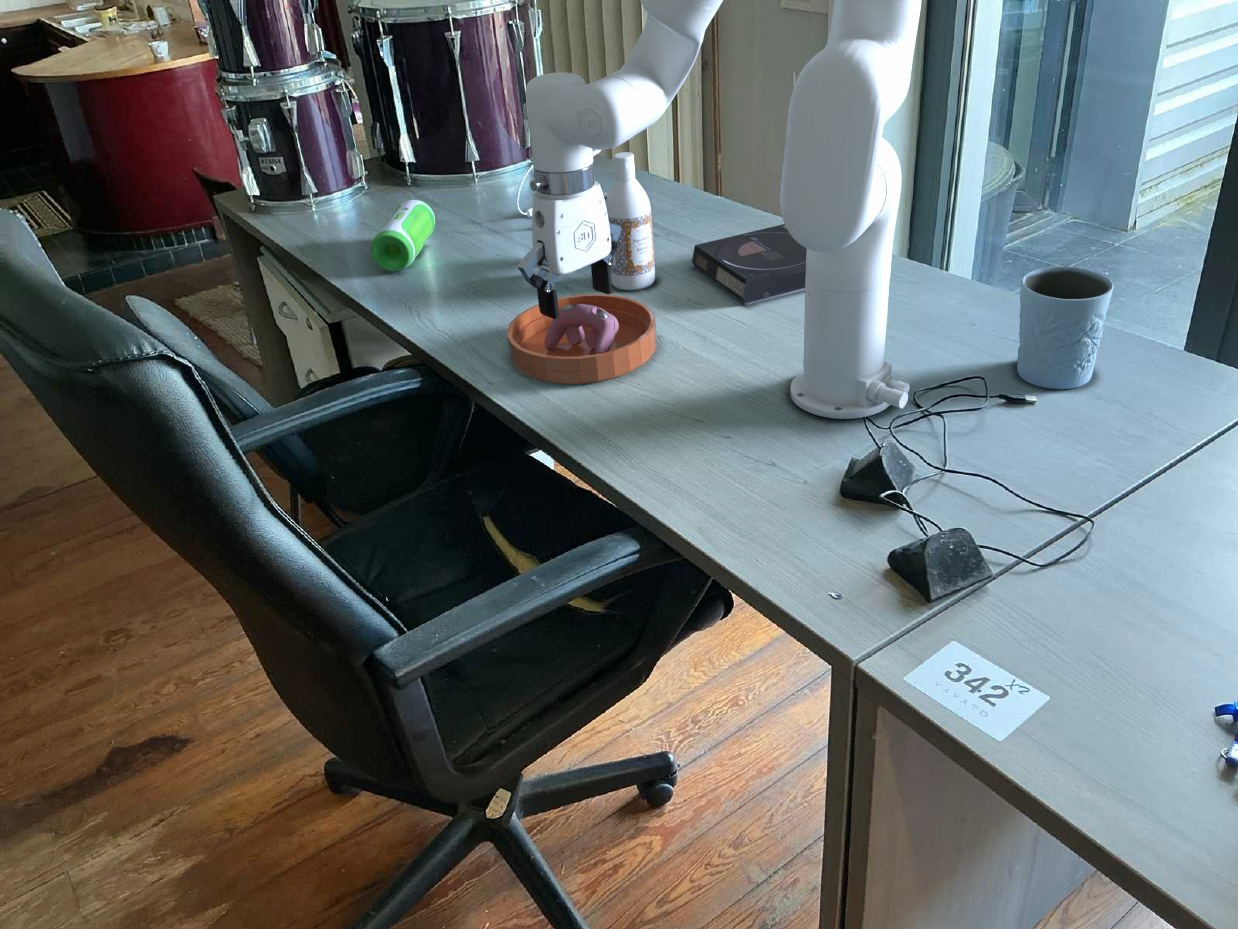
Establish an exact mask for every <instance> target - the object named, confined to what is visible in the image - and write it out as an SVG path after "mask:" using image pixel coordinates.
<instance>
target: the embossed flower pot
mask: <svg viewBox="0 0 1238 929" xmlns="http://www.w3.org/2000/svg"><path fill="white" fill-rule="evenodd" d="M1113 291H1114V283H1113V281H1112V280H1111V279H1110V278H1109V277H1107V276H1105V275H1103V274H1102V273H1100V272H1096V271H1094V270H1091V269H1086V268H1081V267H1072V266H1050V267H1043V268H1038V269H1034V270H1031V271H1029V272H1027V273H1026V274H1024V275H1023V276H1022V278H1021V280H1020V290H1019V292H1020V293H1019V298H1020V299H1019V301H1020V302H1019V304H1020V307H1019V309H1020V310H1019V332H1018V336H1019V337H1018V338H1019V346H1018V348H1017V366H1016V368H1017V373H1018V375H1019V377H1021V379H1022V380H1024V381H1025V382H1026V383H1029V384H1031V385H1034V386H1036V387H1040V388H1044V389H1051V390H1071V389H1077V388H1079V387H1082V386H1084V385H1086V384H1087V383H1089V381H1090V380H1091V378H1092V376H1093V372H1094V368H1095V365H1096V360H1097V356H1098V350H1099V347H1100V344H1101V339H1102V336H1103V332H1104V323H1105V320H1106V315H1107V313H1108V309H1109V306H1110V302H1111V298H1112V295H1113Z"/></svg>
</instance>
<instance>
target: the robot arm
mask: <svg viewBox="0 0 1238 929" xmlns="http://www.w3.org/2000/svg"><path fill="white" fill-rule="evenodd" d="M639 1H640V4H641V5H642V7H643V9H644V10H645V12H646V13H647V15H646V20H645V23H644V26H643V29H642V31H641V33H640V35H639V37H638V40H637V41H636V43H635V45H634V46H633V48H632V50H631V52H630V53H629V55H628V57H627V59H626V60H625V62H624V63H623V65H622V66H621V68H620V69H618V70H616V71H614V72H612V73H610V74H607V75H606V76H604V77H601V78H599V79H598V80H595V81H593V82H590V83H586V81H585V79H584V78H583V77H582V76H580V75H579V74H576V73H572V72H551V73H544V74H540V75H538V76H535V77H533V78H531V79H530V80H529V81H528V82H527V84H526V86H525V104H526V113H527V122H528V130H529V139H530V150H531V156H532V157H531V158H532V165H533V168H532V169H533V175H534V176H533V177H534V178H533V179H532V180H530V181H529V187H530V189H531V190H532V191H533V192H535V193H534V194H533V195H532V196H533V198H532V207H531V208H532V216H531V236H532V248H531V249H530V250H529V251H528V252H527V253H526V255H524V257H523V258H522V259H521V260H520V262H519V263H518V264H517V270H519V272H520V274H521V275H522V277H524V281H525V282H527V283H528V284H529V285H531V286H532V287H533V288H534V289H536V292H537V300H538V301H537V302H538V304H539V309H540V313H541V314H542V315H545V316H547V317H550V318H553V319H557V318H558V317H559V308H558V298H559V297H558V292H557V290H556V289H554V286H555V284H556V282H557V279H558V277H559V276H566V275H569V274H572V273H574V272H576V271H578V270H579V271H580V270H581V269H583V268H585V267H588V266H590V272H591V284H592V289H593V290H594V291H596V292H599V293H601V294H604V295H611V294H612V293H613V288H612V287H613V285H612V283H611V272H610V265H612V264H613V262H614V258H613V255H614V253H615V252H616V250H617V247H618V243H617V241H618V240H619V236H620V232H621V227H620V226H618V225H614V224H611V223H609V221H608V214H607V209H606V204H605V203H606V199H605V197H604V196H603V193H604V192H603V190H602V187H601V184H600V182H599V181H596V178H595V167H594V156H593V152H592V149H596V150H601V151H608V150H612V149H615V148H618V147H619V146H621V145H623V144H624V143H626V142H627V141H629V140H630V139H632V138H633V137H635V136H636V135H638V134H640V133H641V132H643V131H645V130H646V129H648V128H650V127H652V126H653V125H654V124H655V123H657V121H658V120H660V118H661V117H662V116H663V115H664V114H665V112H666V110H667V109H668V108H669V106H670V105H671V103H672V101H673V100H674V99H675V97H676V95H677V93H678V92H679V90H680V89H681V87H682V86H683V84H684V82H685V81H686V79H687V77H688V76H689V74H690V72H691V71H692V68H693V67H694V64H695V62H696V60H697V57H698V55H699V52H700V49H701V47H702V45H703V42H704V39H705V38H704V37H705V32H706V30H707V28H708V26H709V24H710V23H711V21H712V20H713V18H714V16H715V15H716V13H717V11H718V10H719V8H720V6H721V5H722V3H723V2H724V0H639ZM921 8H922V0H833V7H832V14H831V15H832V16H831V23H830V28H829V34H828V37H827V42H826V45H825V46H824V48H823V49H821V50H820V51H818V52H817V53H816V54H814V56H813V57H811V58H810V59H809V61H808V62H807V63H806V64H805V65H804V67H802V69H801V71H800V72H799V75H798V76H797V78H796V81H795V83H794V86H793V89H792V92H791V96H790V100H789V106H788V114H787V122H786V132H785V143H784V152H783V153H784V154H783V162H782V171H781V181H780V192H779V205H780V206H779V207H780V213H781V217H782V221H783V224H785V226H786V228H787V230H788V232H789V233H790V234H791V236H792V237H793V238H794V239H795V240H796V241H797V242H798V243H799V244H800V245H802V246H803V247H805V248H807V253H806V276H805V290H804V318H803V319H804V320H803V322H804V325H803V326H804V327H803V368H802V369H803V370H802V371H801V372H799V373H798V374H797V375H795V376H794V377H793V378H792V380H791V382H790V386H789V388H790V391H789V394H790V399H791V400H792V401H793V403H794V404H795V405H796V406H798V408H800V409H802V411H805V412H807V413H810V414H811V415H815V416H818V417H821V418H822V417H823V418H827V419H837V420H854V419H862V418H867V417H871V416H873V415H876V414H879V413H881V412H883V411H885V410H886V409H887V408H889V407H890V406H892V407H895V408H899V409H900V410H901V409H904V408H905V406H906V405H907V403H908V400H909V394H908V393H909V392H910V387H911V385H910V384H909V383H907V382H904V381H902V380H896V379H894V377H893V376H892V371H893V370H892V369H893V364H891V363H889V362H885V355H886V354H885V353H886V351H885V350H886V337H887V322H888V306H889V291H890V279H891V270H892V257H893V244H894V237H895V230H896V229H895V228H896V223H897V216H898V211H899V205H900V199H901V190H902V170H901V169H902V168H901V164H900V160H899V157H898V154H897V153H896V151H895V149H894V148H893V146H892V144H890V143H889V142H888V141H887V140H886V139H885V138H884V137H883V131H884V127H885V124H886V123H887V122H888V121H889V120H890V119H891V118H892V116H894V115H895V114H896V112H898V110H899V109H900V108H901V106H902V105H903V103H904V101H905V99H906V98H907V95H908V92H909V88H910V86H911V85H910V84H911V77H912V68H913V60H914V53H915V47H916V42H917V41H916V40H917V35H918V30H919V29H918V27H919V23H920V16H921ZM535 266H536V267H537V270H536V271H535ZM547 271H548V272H549V274H548V272H547ZM546 275H547V277H546ZM545 277H546V278H545Z"/></svg>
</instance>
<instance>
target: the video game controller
mask: <svg viewBox="0 0 1238 929" xmlns="http://www.w3.org/2000/svg"><path fill="white" fill-rule="evenodd" d="M582 326H586V327H590V328H592V331H590V332H589V333H588V335H587V337H586V344H587V345H588V346H589V347H590V348H593V349H595V354H600V353H604V352H608V351H610V349H611V346H612V343H613V340H614V337H615V335H616V333H617V331H618V327H619V324H618V321H617V319H616V318H615V317H614V316H613V315H611V314H609V313H608V312H606V311H605V310H603V309H601V308H599V307H596V306H593V305H587V304H575V305H567V306H563V307H562V308H561V310H559V317H558V318H557V319H553V321H552V323H551V325H550V328H549V330H548V332H547V334H546V336H545V347H546V348H547V349H549V350H550V349H552V348H554V347H555V346H556V345H557V344H558V342H559V341H560V340H561V338H562V337H563V335H564V333H566V335H567V339H568V341H569V342H570V343H571V344H581V343H582V342H583V341H584V338H585V335H584V331H583V329H582Z"/></svg>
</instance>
